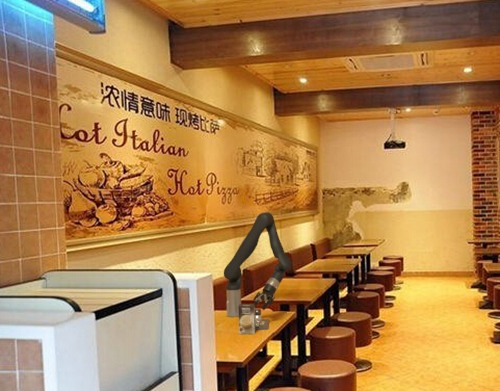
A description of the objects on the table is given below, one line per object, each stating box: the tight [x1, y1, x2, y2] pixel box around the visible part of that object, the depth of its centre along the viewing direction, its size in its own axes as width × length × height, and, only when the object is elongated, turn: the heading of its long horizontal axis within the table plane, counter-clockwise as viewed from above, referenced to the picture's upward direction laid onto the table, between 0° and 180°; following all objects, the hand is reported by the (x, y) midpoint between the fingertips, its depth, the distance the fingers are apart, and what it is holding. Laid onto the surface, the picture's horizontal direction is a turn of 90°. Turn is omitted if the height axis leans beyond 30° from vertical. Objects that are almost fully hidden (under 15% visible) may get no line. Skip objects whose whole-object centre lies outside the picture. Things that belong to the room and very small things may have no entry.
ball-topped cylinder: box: [255, 308, 262, 324], centre depth 352 cm, size 4×4×8 cm
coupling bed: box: [255, 318, 270, 331], centre depth 352 cm, size 13×24×3 cm, turn 176°
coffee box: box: [238, 303, 256, 335], centre depth 333 cm, size 9×6×16 cm
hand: (258, 308), depth 352 cm, fingers open, 8 cm apart
